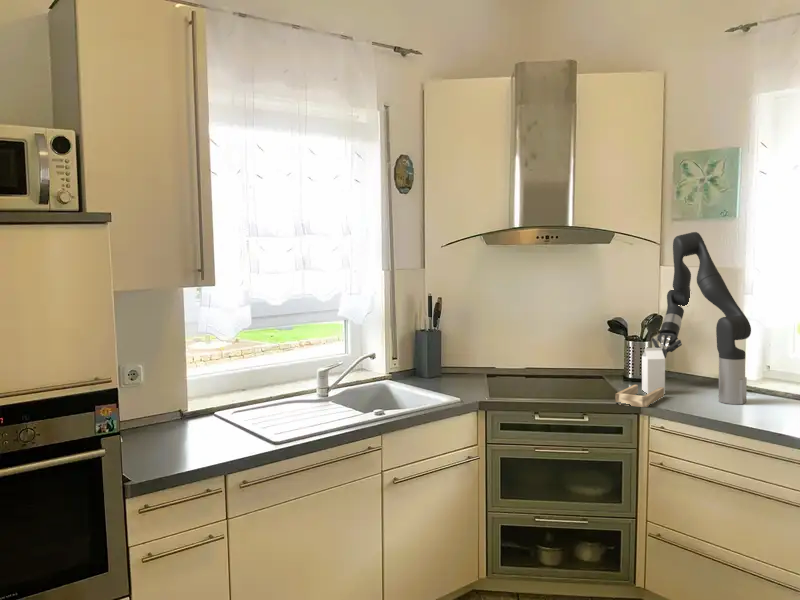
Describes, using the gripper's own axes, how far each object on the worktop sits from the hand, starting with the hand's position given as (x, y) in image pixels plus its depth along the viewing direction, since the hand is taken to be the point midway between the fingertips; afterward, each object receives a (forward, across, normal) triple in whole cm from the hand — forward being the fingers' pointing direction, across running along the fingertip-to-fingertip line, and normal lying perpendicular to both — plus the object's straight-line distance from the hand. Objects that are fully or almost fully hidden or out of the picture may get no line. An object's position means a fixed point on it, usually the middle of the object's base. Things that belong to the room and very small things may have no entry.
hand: (661, 358), depth 290 cm
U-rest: (+28, 0, -10) cm, 30 cm away
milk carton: (+17, 0, +2) cm, 17 cm away
